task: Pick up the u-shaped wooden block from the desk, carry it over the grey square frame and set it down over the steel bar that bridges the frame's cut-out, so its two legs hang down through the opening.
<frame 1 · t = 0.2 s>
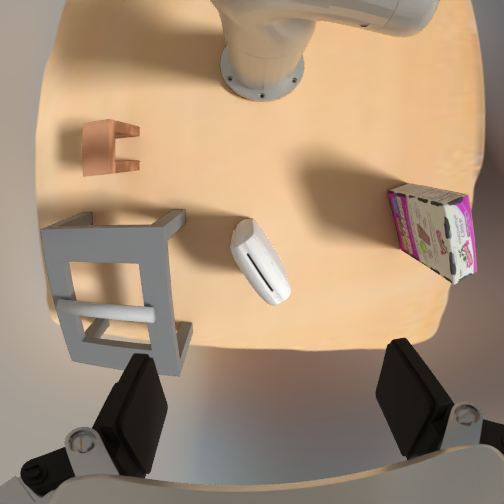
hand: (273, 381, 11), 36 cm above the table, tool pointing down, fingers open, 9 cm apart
u-shaped wooden block: (127, 149, 42), on the table
candy bar box: (404, 215, 46), on the table
photo printer: (258, 247, 47), on the table
grey square frame: (135, 274, 48), on the table
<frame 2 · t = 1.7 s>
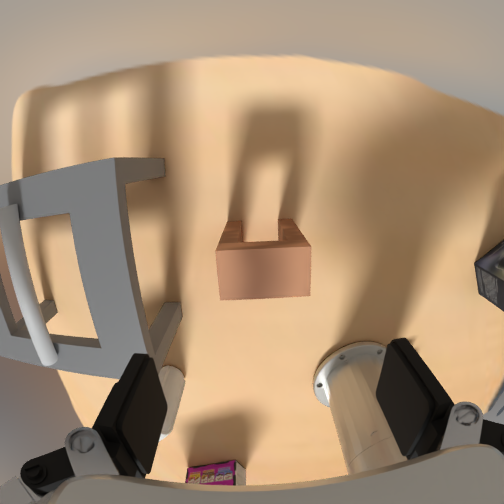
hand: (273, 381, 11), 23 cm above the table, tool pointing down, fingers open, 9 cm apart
u-shaped wooden block: (260, 238, 33), on the table
candy bar box: (217, 468, 46), on the table
photo printer: (156, 381, 39), on the table
small box: (496, 261, 34), on the table
grey square frame: (90, 247, 33), on the table
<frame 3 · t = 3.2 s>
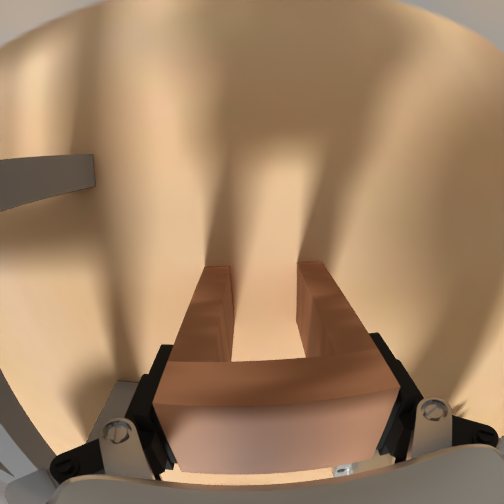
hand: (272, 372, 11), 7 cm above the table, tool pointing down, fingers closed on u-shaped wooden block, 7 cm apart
u-shaped wooden block: (264, 295, 18), on the table, touching gripper
grey square frame: (11, 295, 18), on the table
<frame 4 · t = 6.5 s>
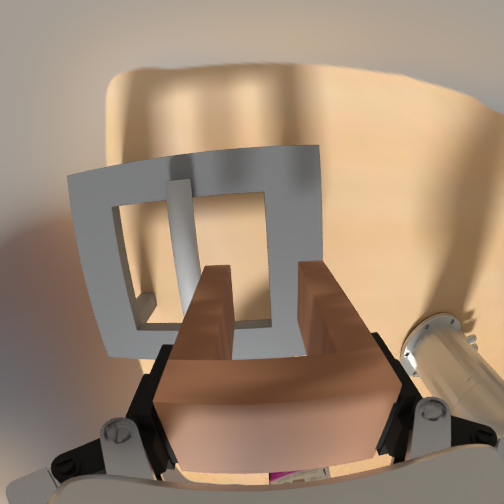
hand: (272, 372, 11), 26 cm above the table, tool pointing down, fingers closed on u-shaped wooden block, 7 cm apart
u-shaped wooden block: (265, 293, 18), point 19 cm above the table, touching gripper
candy bar box: (296, 452, 50), on the table
grey square frame: (211, 234, 37), on the table
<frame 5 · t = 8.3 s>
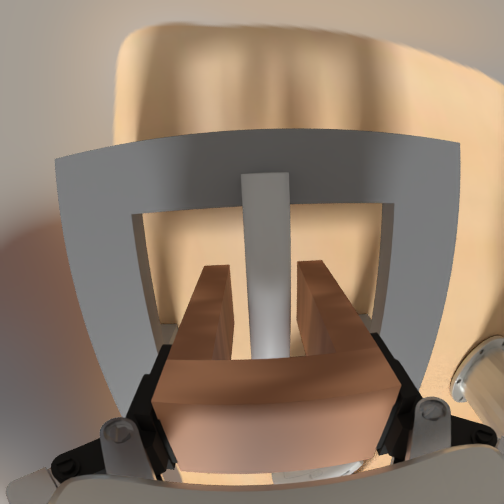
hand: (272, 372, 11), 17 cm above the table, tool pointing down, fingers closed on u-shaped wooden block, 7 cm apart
u-shaped wooden block: (264, 293, 18), point 9 cm above the table, touching gripper
photo printer: (305, 406, 34), on the table
grey square frame: (261, 250, 27), on the table
when the fingers open (14 cm above the table, at t = 9.3 s): u-shaped wooden block drops 1 cm, resting on grey square frame.
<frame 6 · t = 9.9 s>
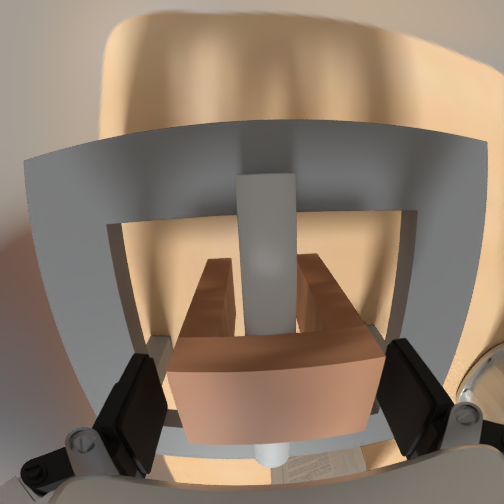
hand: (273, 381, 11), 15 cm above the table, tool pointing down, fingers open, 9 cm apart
u-shaped wooden block: (264, 285, 20), point 5 cm above the table, touching grey square frame
photo printer: (307, 419, 31), on the table
grey square frame: (260, 258, 25), on the table
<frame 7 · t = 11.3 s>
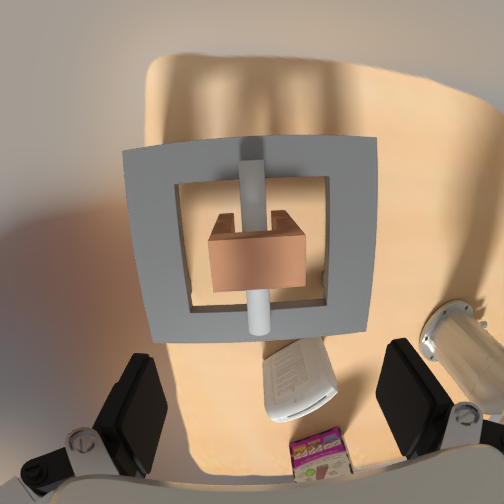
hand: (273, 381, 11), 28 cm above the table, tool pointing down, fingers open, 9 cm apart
u-shaped wooden block: (253, 229, 32), point 5 cm above the table, touching grey square frame
candy bar box: (317, 439, 51), on the table
photo printer: (292, 352, 44), on the table
grey square frame: (253, 220, 37), on the table
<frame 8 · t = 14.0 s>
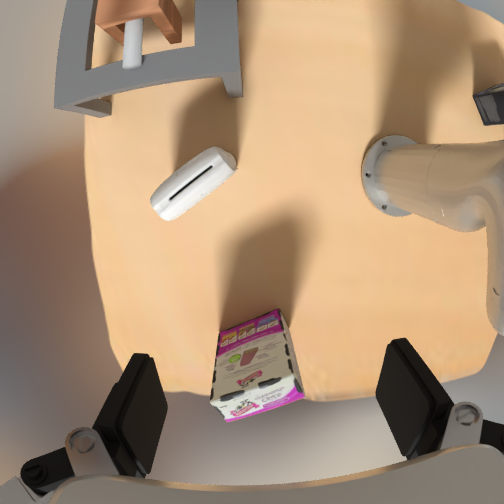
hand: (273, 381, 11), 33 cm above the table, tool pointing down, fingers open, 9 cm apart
u-shaped wooden block: (156, 34, 29), point 5 cm above the table, touching grey square frame
candy bar box: (254, 330, 48), on the table
photo printer: (204, 178, 41), on the table
small box: (491, 103, 36), on the table
grey square frame: (166, 48, 34), on the table
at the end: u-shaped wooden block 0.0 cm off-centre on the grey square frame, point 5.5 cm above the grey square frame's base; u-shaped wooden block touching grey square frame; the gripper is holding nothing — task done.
